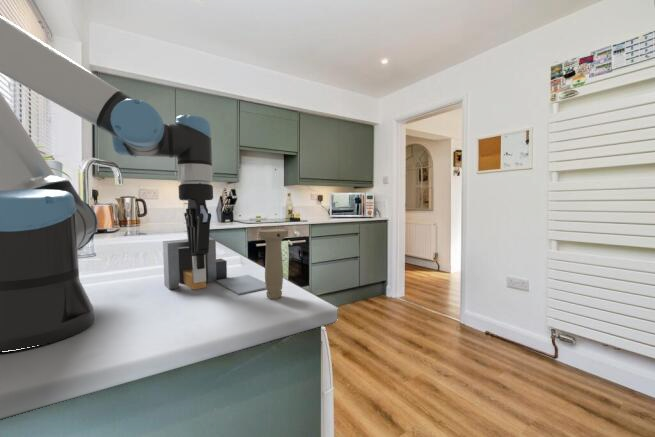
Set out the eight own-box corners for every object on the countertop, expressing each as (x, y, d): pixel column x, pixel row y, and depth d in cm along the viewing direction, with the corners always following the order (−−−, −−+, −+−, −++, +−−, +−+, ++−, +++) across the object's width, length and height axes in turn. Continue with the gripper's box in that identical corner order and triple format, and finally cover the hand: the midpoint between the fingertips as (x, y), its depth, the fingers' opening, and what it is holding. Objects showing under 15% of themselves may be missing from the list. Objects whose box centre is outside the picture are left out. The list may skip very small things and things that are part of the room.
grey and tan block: (209, 286, 75) (208, 250, 74) (188, 290, 72) (187, 253, 71) (192, 274, 86) (191, 243, 86) (173, 277, 83) (172, 245, 83)
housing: (169, 289, 72) (167, 243, 72) (164, 285, 76) (162, 241, 75) (227, 279, 82) (226, 238, 81) (220, 275, 85) (219, 236, 85)
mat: (238, 295, 69) (238, 293, 68) (216, 281, 79) (216, 280, 79) (273, 287, 74) (273, 285, 74) (248, 276, 85) (248, 274, 85)
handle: (256, 297, 67) (255, 230, 66) (281, 291, 71) (281, 228, 70) (265, 303, 63) (264, 232, 62) (292, 297, 67) (291, 230, 66)
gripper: (221, 182, 69) (224, 283, 70) (203, 185, 79) (207, 274, 80) (186, 181, 64) (190, 290, 65) (172, 184, 74) (176, 279, 75)
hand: (199, 281), depth 73 cm, fingers closed
